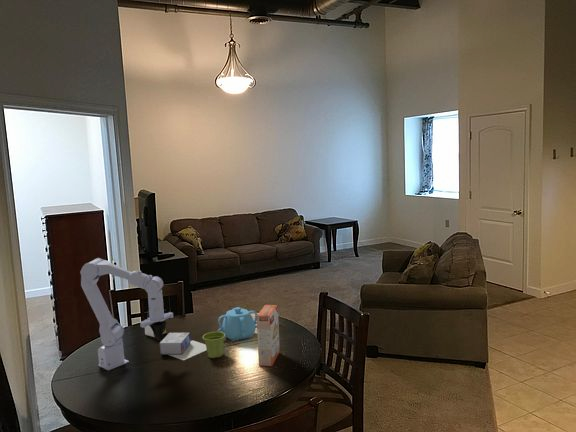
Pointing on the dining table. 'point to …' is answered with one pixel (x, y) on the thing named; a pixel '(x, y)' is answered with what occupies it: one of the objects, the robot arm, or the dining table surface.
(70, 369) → the dining table surface
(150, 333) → the medicine bottle
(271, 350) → the cracker box
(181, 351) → the ink cartridge box
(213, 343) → the plant pot
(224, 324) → the light blue teapot
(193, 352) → the mat
